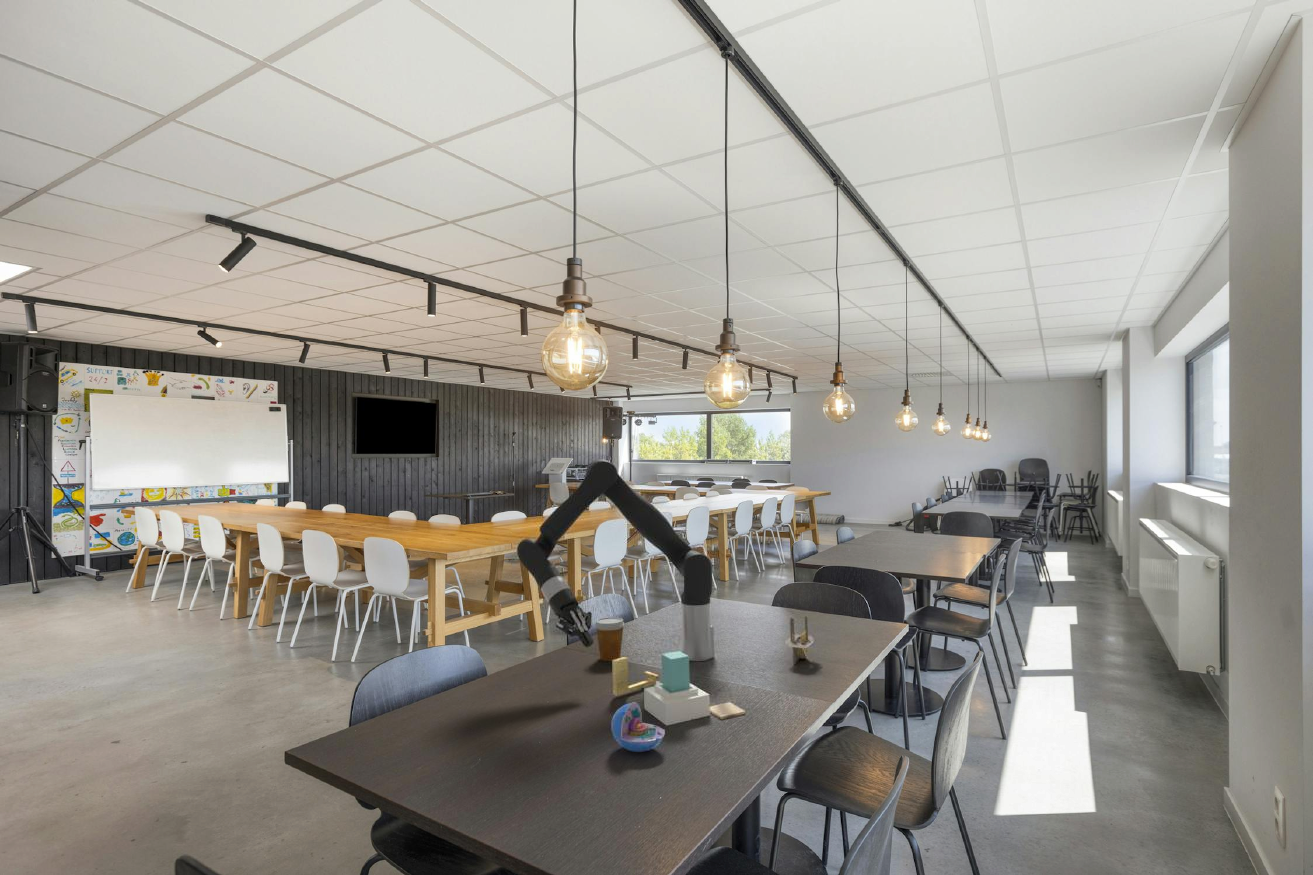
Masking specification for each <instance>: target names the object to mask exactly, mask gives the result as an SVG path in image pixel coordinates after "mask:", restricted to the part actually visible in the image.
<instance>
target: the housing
mask: <svg viewBox="0 0 1313 875" xmlns="http://www.w3.org/2000/svg"><path fill="white" fill-rule="evenodd" d="M643 693H644V694H643V696H644V697H643V698H644V699H643V700H644V705H643V706H644V710H645V711H647V713H650V714H651V715H652V716H653V717H655V718H656V719H657V720H659V721H660V722H661V723H662V724H664V725H665V726H670V725H675V724H679V723H683V722H688V721H692V719H693V720H696V719H700V718H701V719H702V718H704V717H709V716H711V713H710V705H711V702H710V694H709V693H707V692H706V691H704V690H702V689H700V688H699V687H697V686H696V685H694V684H692V683H690V689H688V690H683V691H678V692H674V693H670V692H668V691H667V690H665V689H664V688H663V684H657V685H655V687H650V688H645V689H643Z"/></svg>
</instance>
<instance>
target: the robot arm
mask: <svg viewBox="0 0 1313 875" xmlns="http://www.w3.org/2000/svg"><path fill="white" fill-rule="evenodd" d="M602 495H604V496H605V497H606V498H607V499H608V500H610V502H611V503H613V504H614V505H615V507H616V509H618V511H619V512H620V513H621V514H622V516H623V517H624V518H625V519H626V520H627V521H628V523H630V525H631V526H632V528H634V529H635V530H636V531H637V532H638V533H639V534H640V535H641V536H642V537H643V538H644V539H645V540H646V541H647V542H649V543H650V544H651V545H652V546H654V547H655V548H656V549H657V550H659V551H660V552H661V553H663V554H664V556H665V557H666V558H667V559H668V560H669V562H671V564H672V565H673V566H674V567H675V569H676V570H677V571H678V572H679V574H680V575H681V576H682V577H683V591H682V593H681V596H680V597H681V598H680V603H681V604H680V605H681V607H680V608H681V635H682V636H681V637H682V638H681V642H682V651H681V652H682V653H684V654H686V655H688V656H689V662H703V661H709V660H710V659H712V658H715V630H714V629H715V628H714V626H712V617H711V616H712V615H711V614H712V613H711V598H712V592H713V567H712V562H711V560H710V558H709V557H708V556H707V555H705V554H704V553H702V552H699V551H696V550H695V549H694V548H692V547H691V546H690V545H689V544H687V542H685V541H684V540H683V539H682V538H681V537H680V536H679V535H678V533H677V532H676V531H675V530H674V527H673V526H672V524H671V523H670V522H669V520H668V518H666V517H665V515H663V514H662V512H660V511H659V510H658V508H657V507H656V506H654V504H652V503H651V502H650V501H649V500H648V499H646V498H645V497H644V496H643V495H641V494H640V493H639V492H637V491H636V490H634V489H633V488H632V487H630V486H629V485H628V483H627V482H626V481H625V480H624V479H623V478H622V477H621V475H620V473H618V469H617V467H616V466H615V465H614V463H612V462H611V461H609V460H606V459H602V458H601V459H596V460H593V461H591V462H589V464H588V466H587V467H586V470H585V477H584V479H583V480H582V481H581V483H580V485H579V486H578V487H577V488H576V489H575V490H574V492H573V493H572V494H571V495H569V497H567V498H566V500H564V501H563V502H562V503H561V504H560V505H558V507H557V508H556V509H555V510H554V511H553V512H552V513H551V514H550V515H549V516H548V517H547V518H546V519H545V520H544V521H543V523H541V525H540V527H539V533H540V534H539V535H538V538H537V539H536V540H535V539H533V538H525V539H522V540H521V541H519V543H518V545H517V549H516V554H517V557H518V559H519V561H520V562H521V563H522V565H523V566H524V568H525V569H526V570H527V571H528V572H529V574H530V575H531V576H532V577H533V578H534V580H535V583H537V586H538V587H539V589H540V591H541V592H542V595H543V597H544V599H545V600H546V602H547V603H548V605H549V607H550V608H551V610H552V612H553V613H554V615H555V616H556V617H557V618H558V622H557V623H556V624H555V628H557V629H558V630H560V631H562V632H564V633H565V634H567V635H568V636H571V637H577V638H578V639H579V641H580V642H581V643H582V645H583V646H584V647H585V648H589V647H592V645H593V644H594V639H593V637H592V635H591V634H590V632H589V630H590V629H591V628H592V617H593V615H592V612H591V611H587V612H585V611H584V610H583V608H582V607H580V606H579V600H578V598H577V597H576V595H575V593H574V592H573V591H572V588H570V586H569V584H568V582H567V581H566V579H564V577H563V576H562V574H561V573H560V571H559V570H558V568H557V567H556V566H555V565H554V564H553V562H551V561H550V560H549V557H551V554H552V553H553V551H554V549H555V548H556V545H557V543H558V542H559V540H560V539H561V538H562V537H563V536H564V535H565V534H566V532H567V531H568V530H569V529H570V528H571V527H572V525H574V523H575V522H576V521H578V519H579V517H580V516H582V514H583V513H584V512H585V510H587V508H589V507H590V506H591V505H592V504H593V503H594V502H595V501H596V500H597V499H599V497H600V496H602Z"/></svg>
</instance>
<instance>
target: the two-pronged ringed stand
mask: <svg viewBox="0 0 1313 875" xmlns="http://www.w3.org/2000/svg"><path fill="white" fill-rule="evenodd" d="M789 626H790V628H789V630H790V637H788V638H787V639H786V640H785V641H784V643H785V646H787V647H788V648H789V647H790V648H792V665H793V666H795V665H796V663H798V660H800V659H803V660H808V648H809V647H810V646H811V645H812V644H813V643H814V642H815V640H814V638H813V636H812V635H809V630H808V629H809V627H808V616H807V615H805V616H804V632H803V633H800V634H798V633H796V634H795V618H794V617H790V618H789Z"/></svg>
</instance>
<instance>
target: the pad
mask: <svg viewBox="0 0 1313 875" xmlns="http://www.w3.org/2000/svg"><path fill="white" fill-rule="evenodd" d="M710 714H712V715H713V716H715V717H717V718H718V719H719V720H725V719H728V718H733V717H734V718H735V717H737V716H738V717H739V716H742V715H745V714H746V710H744V709H742V708H741V707H738V706H737V705H735V704H733V703H732V702H730V701H728V702H724V703H719V704H715V705H711V706H710Z"/></svg>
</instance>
